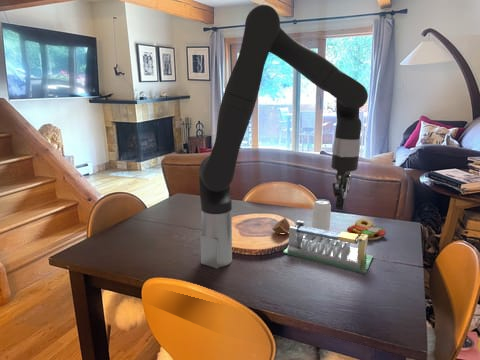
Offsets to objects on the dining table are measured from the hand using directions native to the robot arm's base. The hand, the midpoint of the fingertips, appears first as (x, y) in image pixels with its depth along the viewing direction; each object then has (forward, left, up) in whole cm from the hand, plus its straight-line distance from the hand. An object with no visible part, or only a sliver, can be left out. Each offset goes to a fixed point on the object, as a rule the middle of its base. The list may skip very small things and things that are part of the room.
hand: (339, 208), depth 109 cm
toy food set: (+24, -4, -17) cm, 30 cm away
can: (+17, +11, -17) cm, 27 cm away
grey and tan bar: (0, +4, -11) cm, 11 cm away
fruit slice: (+8, +23, -17) cm, 30 cm away
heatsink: (0, +3, -17) cm, 17 cm away
